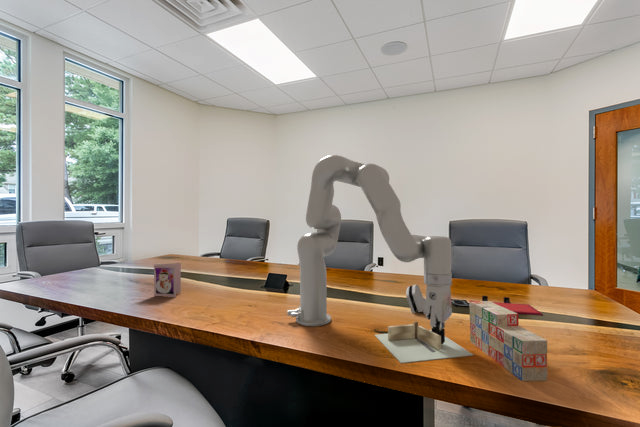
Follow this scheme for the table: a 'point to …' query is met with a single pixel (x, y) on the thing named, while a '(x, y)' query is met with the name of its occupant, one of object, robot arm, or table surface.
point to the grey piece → (416, 299)
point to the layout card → (421, 349)
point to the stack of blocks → (508, 341)
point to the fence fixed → (402, 332)
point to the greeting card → (167, 279)
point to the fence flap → (429, 337)
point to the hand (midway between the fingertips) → (438, 342)
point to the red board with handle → (510, 306)
